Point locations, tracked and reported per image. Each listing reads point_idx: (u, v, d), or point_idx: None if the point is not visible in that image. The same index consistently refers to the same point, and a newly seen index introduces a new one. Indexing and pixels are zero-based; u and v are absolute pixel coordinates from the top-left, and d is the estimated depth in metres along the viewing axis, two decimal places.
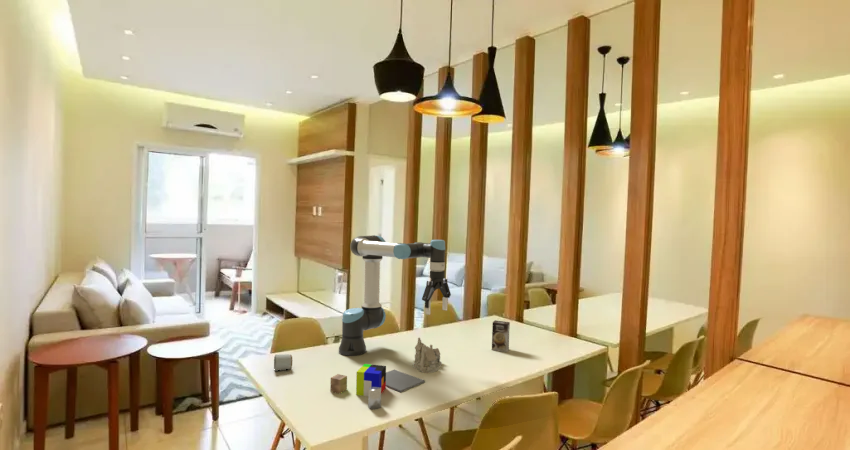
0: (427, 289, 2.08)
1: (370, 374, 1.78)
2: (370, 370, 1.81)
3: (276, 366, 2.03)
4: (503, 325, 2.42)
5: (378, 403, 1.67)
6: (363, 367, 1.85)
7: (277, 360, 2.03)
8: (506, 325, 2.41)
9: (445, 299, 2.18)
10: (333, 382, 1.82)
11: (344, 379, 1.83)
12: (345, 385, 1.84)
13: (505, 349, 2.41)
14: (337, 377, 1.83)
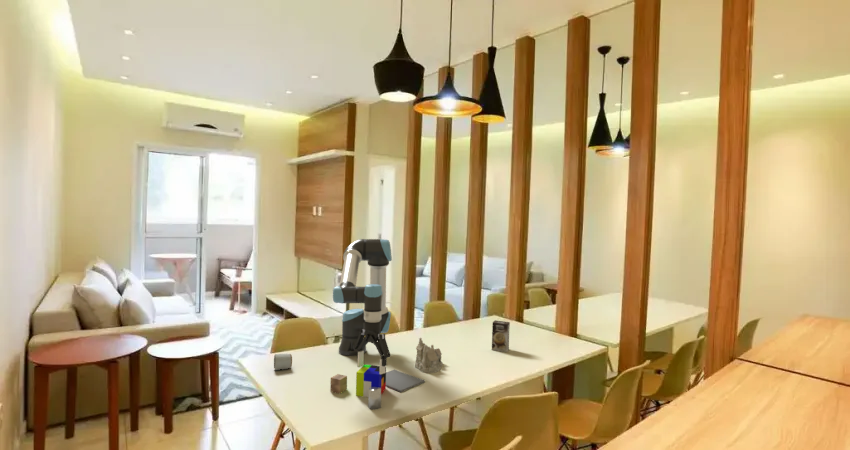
0: None
1: (370, 375, 1.77)
2: (370, 371, 1.81)
3: (276, 365, 2.03)
4: (503, 325, 2.42)
5: (378, 403, 1.67)
6: (363, 368, 1.84)
7: (277, 359, 2.04)
8: (506, 325, 2.41)
9: None
10: (333, 382, 1.82)
11: (344, 379, 1.83)
12: (345, 385, 1.84)
13: (505, 349, 2.41)
14: (337, 377, 1.83)
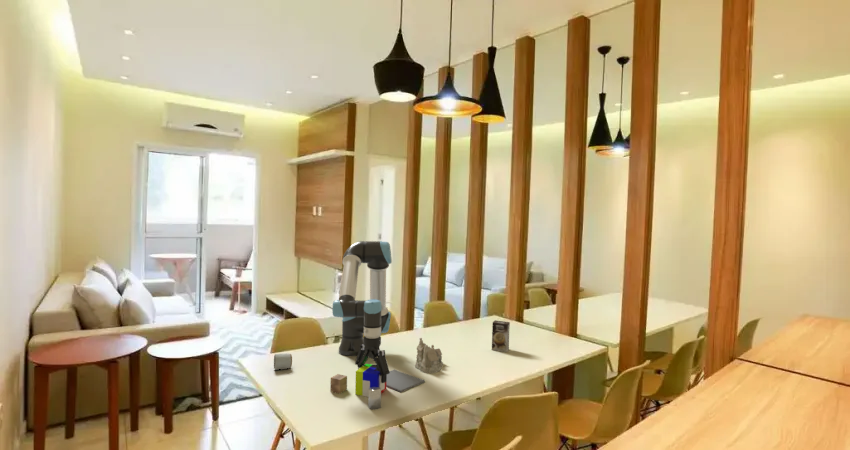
0: None
1: (369, 374, 1.78)
2: (369, 370, 1.81)
3: (276, 365, 2.04)
4: (503, 325, 2.42)
5: (378, 403, 1.67)
6: (363, 367, 1.85)
7: (277, 359, 2.04)
8: (506, 325, 2.41)
9: None
10: (333, 382, 1.82)
11: (344, 379, 1.83)
12: (345, 385, 1.84)
13: (505, 349, 2.41)
14: (337, 377, 1.83)
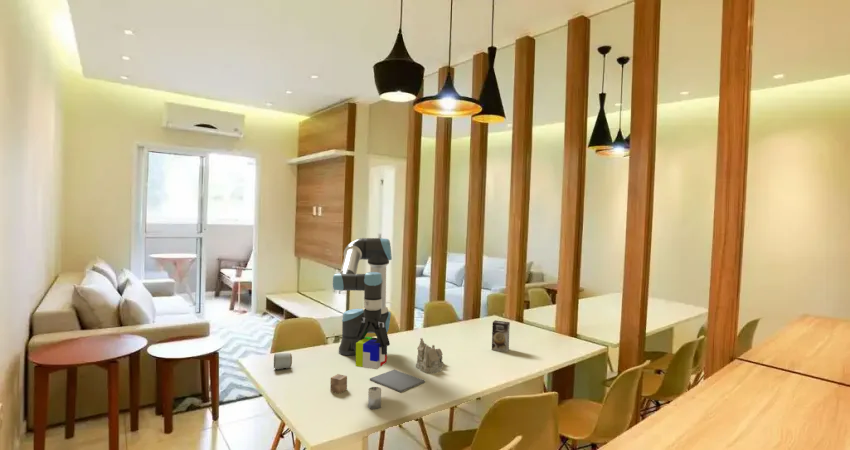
0: None
1: (369, 346, 1.78)
2: (370, 342, 1.81)
3: (276, 365, 2.04)
4: (503, 325, 2.42)
5: (378, 403, 1.67)
6: (364, 339, 1.85)
7: (277, 359, 2.05)
8: (506, 325, 2.41)
9: None
10: (333, 382, 1.82)
11: (344, 379, 1.83)
12: (345, 385, 1.84)
13: (505, 349, 2.41)
14: (337, 377, 1.83)
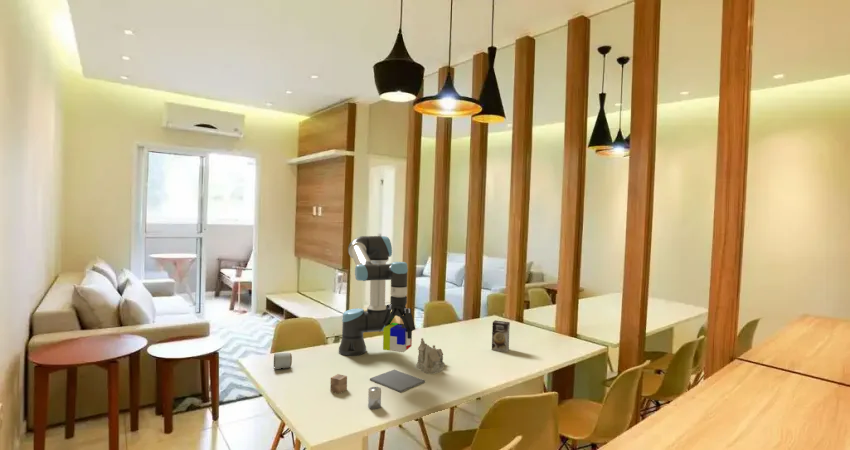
0: None
1: (396, 330, 1.90)
2: (396, 327, 1.93)
3: (276, 364, 2.05)
4: (503, 325, 2.42)
5: (378, 403, 1.67)
6: (390, 325, 1.97)
7: (276, 358, 2.05)
8: (506, 325, 2.41)
9: None
10: (333, 382, 1.82)
11: (344, 379, 1.83)
12: (345, 385, 1.84)
13: (505, 349, 2.41)
14: (337, 377, 1.83)
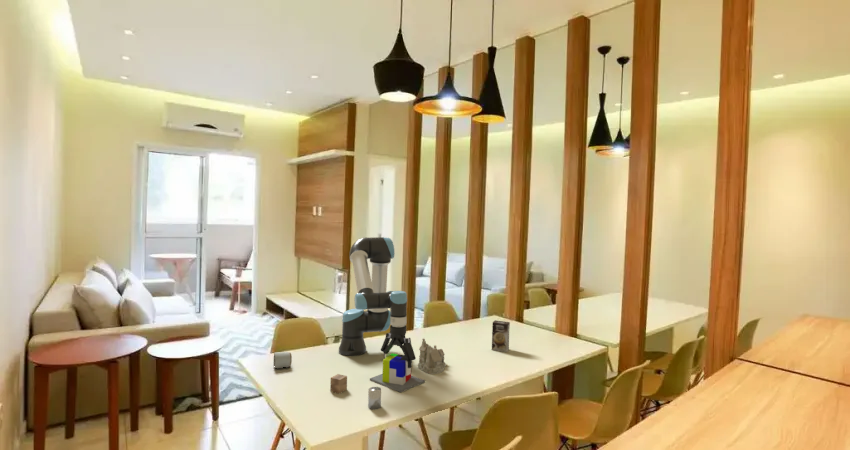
0: None
1: (395, 363, 1.90)
2: (395, 359, 1.93)
3: (275, 364, 2.06)
4: (503, 325, 2.42)
5: (378, 403, 1.67)
6: (390, 356, 1.97)
7: (276, 358, 2.06)
8: (506, 325, 2.41)
9: None
10: (333, 382, 1.82)
11: (344, 379, 1.83)
12: (345, 385, 1.84)
13: (505, 349, 2.41)
14: (337, 377, 1.83)
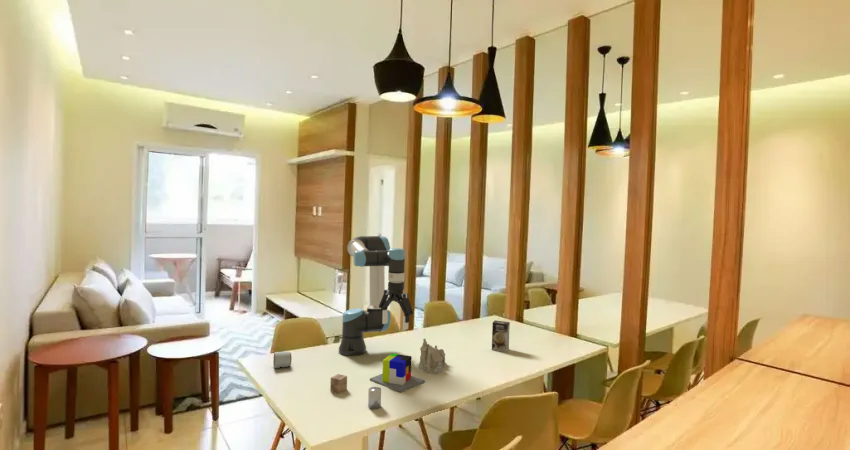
0: None
1: (395, 363, 1.90)
2: (395, 359, 1.93)
3: (275, 363, 2.06)
4: (503, 325, 2.42)
5: (378, 403, 1.67)
6: (390, 356, 1.97)
7: (276, 357, 2.07)
8: (506, 325, 2.41)
9: None
10: (333, 382, 1.82)
11: (344, 379, 1.83)
12: (345, 385, 1.84)
13: (505, 349, 2.41)
14: (337, 377, 1.83)
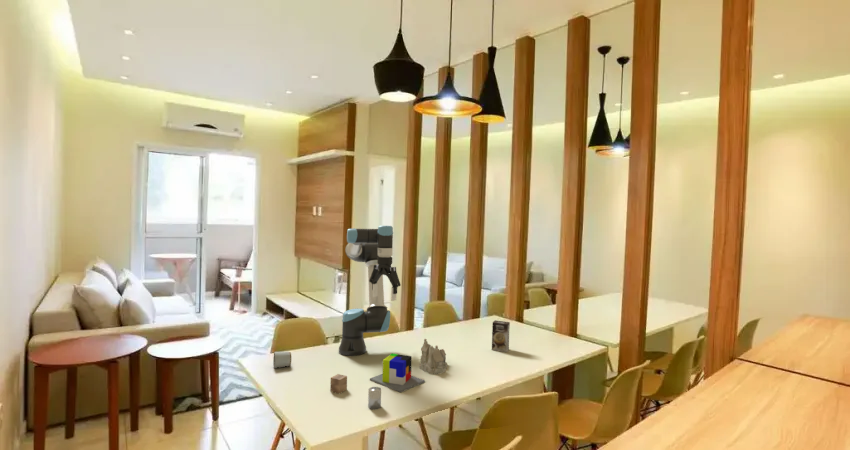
0: None
1: (395, 363, 1.90)
2: (395, 359, 1.93)
3: (275, 363, 2.07)
4: (503, 325, 2.42)
5: (378, 403, 1.67)
6: (390, 356, 1.97)
7: (276, 357, 2.07)
8: (506, 325, 2.41)
9: None
10: (332, 382, 1.82)
11: (344, 379, 1.83)
12: (345, 385, 1.84)
13: (505, 349, 2.41)
14: (337, 377, 1.83)
